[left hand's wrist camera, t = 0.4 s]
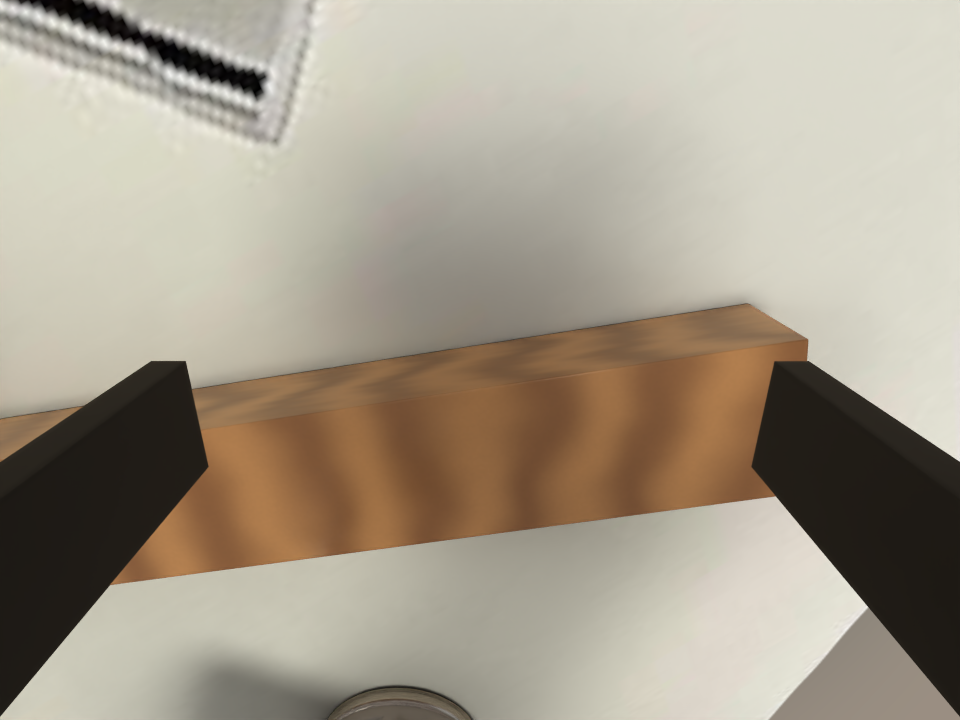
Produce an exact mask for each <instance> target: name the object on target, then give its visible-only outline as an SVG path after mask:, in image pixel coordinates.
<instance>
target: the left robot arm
mask: <svg viewBox="0 0 960 720" xmlns="http://www.w3.org/2000/svg"><path fill="white" fill-rule="evenodd" d="M208 467H209V466H208V461H207V457H206V452H205V447H204V443H203V438H202V434H201V429H200V425H199V420H198V415H197V411H196V406H195V402H194V397H193V393H192V388H191V383H190V379H189V374H188V370H187V365H186V361H151V362H149V363H148V364H146V365H145V366H143V367H142V368H140V369H139V370H137V371H136V372H134V373H133V374H131V375H130V376H128V377H127V378H125V379H124V380H122V381H121V382H119V383H118V384H116V385H115V386H113V387H112V388H110V389H109V390H107V391H106V392H104V393H103V394H101V395H100V396H98V397H97V398H95V399H94V400H92V401H91V402H89V403H88V404H86V405H85V406H83V407H82V408H80V409H79V410H77V411H76V412H74V413H73V414H71V415H70V416H68V417H67V418H65V419H64V420H62V421H61V422H59V423H58V424H56V425H55V426H53V427H52V428H50V429H49V430H47V431H46V432H44V433H43V434H41V435H40V436H38V437H37V438H35V439H34V440H32V441H31V442H29V443H28V444H26V445H25V446H23V447H22V448H20V449H19V450H17V451H16V452H14V453H13V454H11V455H10V456H8V457H7V458H5V459H4V460H2V461H1V462H0V716H1V715H2V714H3V713H4V711H5V710H6V709H7V708H8V707H9V705H10V704H11V703H12V702H13V701H14V699H15V698H16V697H17V696H18V695H19V693H20V692H21V691H22V690H23V689H24V687H25V686H26V685H27V684H28V683H29V681H30V680H31V679H32V678H33V677H34V675H35V674H36V673H37V672H38V671H39V669H40V668H41V667H42V666H43V665H44V663H45V662H46V661H47V660H48V659H49V657H50V656H51V655H52V654H53V653H54V652H55V650H56V649H57V648H58V647H59V646H60V644H61V643H62V642H63V641H64V640H65V638H66V637H67V636H68V635H69V634H70V632H71V631H72V630H73V629H74V628H75V626H76V625H77V624H78V623H79V622H80V620H81V619H82V618H83V617H84V616H85V614H86V613H87V612H88V611H89V610H90V608H91V607H92V606H93V605H94V604H95V602H96V601H97V600H98V599H99V598H100V596H101V595H102V594H103V593H104V592H105V590H106V589H107V588H108V587H109V586H110V584H111V583H112V582H113V581H114V580H115V578H116V577H117V576H118V575H119V574H120V572H121V571H122V570H123V569H124V568H125V566H126V565H127V564H128V563H129V562H130V560H131V559H132V558H133V557H134V556H135V555H136V553H137V552H138V551H139V550H140V549H141V547H142V546H143V545H144V544H145V543H146V541H147V540H148V539H149V538H150V537H151V535H152V534H153V533H154V532H155V531H156V529H157V528H158V527H159V526H160V525H161V523H162V522H163V521H164V520H165V519H166V517H167V516H168V515H169V514H170V513H171V511H172V510H173V509H174V508H175V507H176V505H177V504H178V503H179V502H180V501H181V499H182V498H183V497H184V496H185V495H186V493H187V492H188V491H189V490H190V489H191V487H192V486H193V485H194V484H195V483H196V481H197V480H198V479H199V478H200V477H201V475H202V474H203V473H204V472H205V471H206V469H207V468H208ZM751 467H752V468H753V469H754V471H755V472H756V473H757V474H758V475H759V477H760V478H761V479H762V480H763V481H764V483H765V484H766V485H767V486H768V487H769V489H770V490H771V491H772V492H773V493H774V495H775V496H776V497H777V498H778V499H779V501H780V502H781V503H782V504H783V505H784V507H785V508H786V509H787V510H788V511H789V513H790V514H791V515H792V516H793V517H794V519H795V520H796V521H797V522H798V523H799V525H800V526H801V527H802V528H803V529H804V531H805V532H806V533H807V534H808V535H809V537H810V538H811V539H812V540H813V541H814V543H815V544H816V545H817V546H818V547H819V549H820V550H821V551H822V552H823V553H824V555H825V556H826V557H827V558H828V559H829V561H830V562H831V563H832V564H833V565H834V566H835V568H836V569H837V570H838V571H839V572H840V574H841V575H842V576H843V577H844V578H845V580H846V581H847V582H848V583H849V584H850V586H851V587H852V588H853V589H854V590H855V592H856V593H857V594H858V595H859V596H860V598H861V599H862V600H863V601H864V602H865V604H866V605H867V606H868V607H869V608H870V610H871V611H872V612H873V613H874V614H875V616H876V617H877V618H878V619H879V620H880V622H881V623H882V624H883V625H884V626H885V628H886V629H887V630H888V631H889V632H890V634H891V635H892V636H893V637H894V638H895V640H896V641H897V642H898V643H899V644H900V645H901V647H902V648H903V649H904V650H905V652H906V653H907V654H908V655H909V656H910V657H911V659H912V660H913V661H914V662H915V663H916V665H917V666H918V667H919V668H920V669H921V671H922V672H923V673H924V674H925V675H926V677H927V678H928V679H929V680H930V681H931V683H932V684H933V685H934V686H935V687H936V689H937V690H938V691H939V692H940V693H941V695H942V696H943V697H944V698H945V699H946V701H947V702H948V703H949V704H950V705H951V707H952V708H953V709H954V710H955V711H956V713H957V714H958V715H959V716H960V462H959V461H958V460H956V459H955V458H953V457H952V456H950V455H949V454H947V453H946V452H944V451H943V450H941V449H940V448H938V447H937V446H935V445H934V444H932V443H931V442H929V441H928V440H926V439H925V438H923V437H922V436H920V435H919V434H917V433H916V432H914V431H913V430H911V429H910V428H908V427H907V426H905V425H904V424H902V423H901V422H899V421H898V420H896V419H895V418H893V417H892V416H890V415H889V414H887V413H886V412H884V411H883V410H881V409H880V408H878V407H877V406H875V405H874V404H872V403H871V402H869V401H868V400H866V399H865V398H863V397H862V396H860V395H859V394H857V393H856V392H854V391H853V390H851V389H850V388H848V387H847V386H845V385H844V384H842V383H841V382H839V381H838V380H836V379H835V378H833V377H832V376H830V375H829V374H827V373H826V372H824V371H823V370H821V369H820V368H818V367H817V366H815V365H814V364H812V363H811V362H809V361H774V365H773V370H772V374H771V379H770V383H769V388H768V393H767V397H766V402H765V406H764V411H763V415H762V420H761V425H760V429H759V434H758V438H757V443H756V447H755V452H754V457H753V461H752V466H751ZM327 720H472V719H471V718H470V717H469V716H468V715H467V713H466V712H465V711H463V710H462V709H461V708H460V707H459V706H457V705H456V704H454V703H453V702H451V701H449V700H447V699H445V698H443V697H441V696H438V695H436V694H433V693H430V692H426V691H422V690H417V689H410V688H384V689H377V690H372V691H368V692H365V693H362V694H359V695H357V696H354V697H352V698H350V699H349V700H347V701H345V702H344V703H342V704H341V705H340V706H338V707H337V708H336V709H335V710H334V711H333V712H332V714H331V715H330V716H329V718H328V719H327Z"/></svg>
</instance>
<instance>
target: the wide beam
mask: <svg viewBox="0 0 960 720" xmlns="http://www.w3.org/2000/svg"><path fill="white" fill-rule="evenodd" d="M807 353H808V339H807V338H805V337H803V336H802V335H800V334H798V333H797V332H795V331H793V330H792V329H790V328H788V327H787V326H785V325H783V324H782V323H780V322H778V321H776V320H775V319H773V318H771V317H770V316H768V315H766V314H765V313H763V312H761V311H760V310H758V309H756V308H755V307H753V306H751V305H750V304H743V305H736V306H730V307H723V308H717V309H710V310H704V311H698V312H691V313H685V314H678V315H672V316H665V317H659V318H652V319H646V320H639V321H633V322H626V323H620V324H613V325H607V326H600V327H594V328H587V329H581V330H574V331H568V332H561V333H555V334H548V335H542V336H536V337H529V338H523V339H516V340H510V341H503V342H497V343H490V344H484V345H477V346H471V347H464V348H458V349H451V350H445V351H438V352H432V353H425V354H419V355H412V356H406V357H399V358H393V359H386V360H380V361H373V362H367V363H361V364H354V365H348V366H341V367H335V368H328V369H322V370H315V371H309V372H302V373H296V374H289V375H283V376H276V377H270V378H263V379H257V380H250V381H244V382H237V383H231V384H224V385H218V386H211V387H205V388H199V389H192V393H193V397H194V402H195V406H196V411H197V415H198V420H199V425H200V429H201V434H202V438H203V443H204V447H205V452H206V457H207V461H208V466H209V467H208V468H207V469H206V471H205V472H204V473H203V474H202V475H201V477H200V478H199V479H198V480H197V481H196V483H195V484H194V485H193V486H192V487H191V489H190V490H189V491H188V492H187V493H186V495H185V496H184V497H183V498H182V499H181V501H180V502H179V503H178V504H177V505H176V507H175V508H174V509H173V510H172V511H171V513H170V514H169V515H168V516H167V517H166V519H165V520H164V521H163V522H162V523H161V525H160V526H159V527H158V528H157V529H156V531H155V532H154V533H153V534H152V535H151V537H150V538H149V539H148V540H147V541H146V543H145V544H144V545H143V546H142V547H141V549H140V550H139V551H138V552H137V553H136V555H135V556H134V557H133V558H132V559H131V560H130V562H129V563H128V564H127V565H126V566H125V568H124V569H123V570H122V571H121V572H120V574H119V575H118V576H117V577H116V578H115V580H114V581H113V582H112V583H111V584H110V585H114V584H121V583H129V582H136V581H144V580H151V579H159V578H166V577H174V576H181V575H189V574H196V573H204V572H211V571H219V570H226V569H234V568H241V567H249V566H256V565H264V564H271V563H279V562H286V561H294V560H301V559H309V558H316V557H324V556H331V555H339V554H346V553H354V552H361V551H369V550H376V549H384V548H391V547H399V546H406V545H414V544H421V543H429V542H436V541H444V540H451V539H459V538H466V537H474V536H481V535H489V534H496V533H504V532H511V531H519V530H526V529H534V528H541V527H549V526H556V525H564V524H571V523H579V522H586V521H594V520H601V519H609V518H617V517H624V516H632V515H639V514H647V513H654V512H662V511H669V510H677V509H684V508H692V507H699V506H707V505H714V504H722V503H729V502H737V501H744V500H752V499H759V498H767V497H774V496H775V495H774V493H773V492H772V491H771V490H770V489H769V487H768V486H767V485H766V484H765V483H764V481H763V480H762V479H761V478H760V477H759V475H758V474H757V473H756V472H755V471H754V469H753V468H752V467H751V466H752V461H753V457H754V452H755V447H756V443H757V438H758V434H759V429H760V425H761V420H762V415H763V411H764V406H765V402H766V397H767V393H768V388H769V383H770V379H771V374H772V370H773V365H774V361H807ZM82 407H83V406H82ZM82 407H75V408H69V409H62V410H56V411H49V412H43V413H36V414H30V415H24V416H17V417H11V418H4V419H0V462H1V461H2V460H4V459H5V458H7V457H8V456H10V455H11V454H13V453H14V452H16V451H17V450H19V449H20V448H22V447H23V446H25V445H26V444H28V443H29V442H31V441H32V440H34V439H35V438H37V437H38V436H40V435H41V434H43V433H44V432H46V431H47V430H49V429H50V428H52V427H53V426H55V425H56V424H58V423H59V422H61V421H62V420H64V419H65V418H67V417H68V416H70V415H71V414H73V413H74V412H76V411H77V410H79V409H80V408H82Z"/></svg>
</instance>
